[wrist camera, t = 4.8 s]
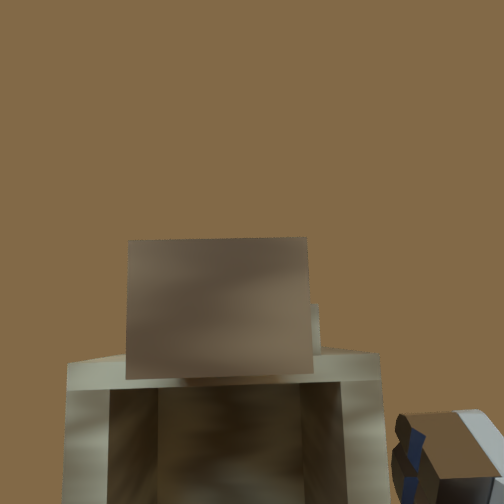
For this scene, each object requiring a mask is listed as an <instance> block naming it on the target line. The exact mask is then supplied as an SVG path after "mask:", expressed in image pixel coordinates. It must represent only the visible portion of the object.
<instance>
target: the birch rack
mask: <svg viewBox="0 0 504 504" xmlns="http://www.w3.org/2000/svg"><path fill="white" fill-rule="evenodd" d="M310 308H311V327H312V347H313V366H314V374H290V375H260V376H230V377H200V378H170V379H140V380H125V373H126V354H122V355H116V356H109V357H103V358H97V359H92V360H85V361H79V362H73V363H68V370H67V394H66V417H65V439H64V462H63V485H62V504H391V498H390V487H389V473H388V461H387V447H386V434H385V422H384V409H383V395H382V382H381V370H380V357H379V354H378V353H370V352H362V351H353V350H345V349H336V348H329V347H321V345H320V327H319V309H318V304H310Z"/></svg>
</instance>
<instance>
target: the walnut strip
mask: <svg viewBox="0 0 504 504" xmlns="http://www.w3.org/2000/svg"><path fill="white" fill-rule="evenodd" d="M126 327H127V328H126V373H125V380H140V379H170V378H200V377H230V376H260V375H290V374H314V366H313V347H312V327H311V308H310V290H309V269H308V252H307V237H292V238H291V237H286V238H239V239H237V238H235V239H186V240H135V241H134V240H133V241H128V279H127V326H126Z"/></svg>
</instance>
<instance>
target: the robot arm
mask: <svg viewBox="0 0 504 504" xmlns="http://www.w3.org/2000/svg"><path fill="white" fill-rule="evenodd" d="M395 432H396V434H397V437H398V439H399V441H400V443H399V444H398V445H397V446H396V447H395V448H394V449H393V450H392V462H391V467H392V477H393V482H394V486H395V489H396V493H397V495H398V498H399V500H400V503H401V504H504V437H503V436H502V434H501V433H500V432H499V431H498V430H497V428H496V427H495V426H494V424H493V423H492V422H491V421H490V420H489V418H488V417H487V416H486V415H485V414H484V412H482V411H480V410H478V409H473V410H457V411H451V412H428V413H407V414H406V413H405V414H399V416H398V418H397V420H396V426H395Z"/></svg>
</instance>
